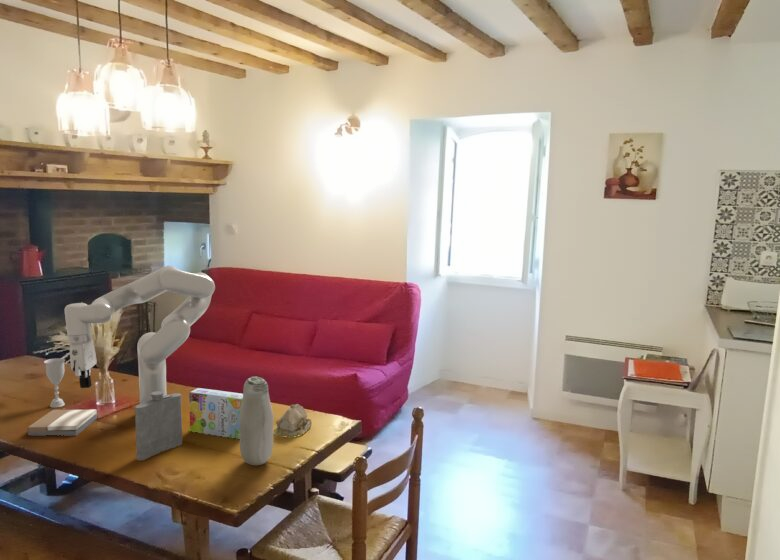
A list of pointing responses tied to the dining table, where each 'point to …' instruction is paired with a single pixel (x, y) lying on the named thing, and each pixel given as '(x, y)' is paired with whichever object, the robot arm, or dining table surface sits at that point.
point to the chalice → (55, 377)
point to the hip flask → (158, 424)
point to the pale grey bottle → (256, 422)
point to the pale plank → (72, 420)
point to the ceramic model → (293, 422)
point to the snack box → (215, 412)
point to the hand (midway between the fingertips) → (86, 387)
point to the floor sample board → (65, 432)
